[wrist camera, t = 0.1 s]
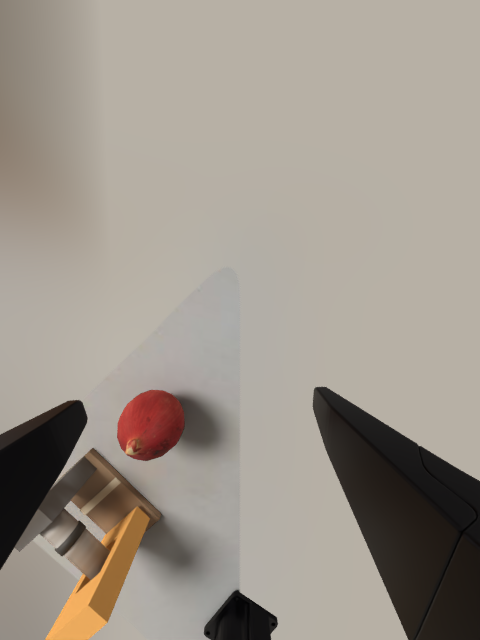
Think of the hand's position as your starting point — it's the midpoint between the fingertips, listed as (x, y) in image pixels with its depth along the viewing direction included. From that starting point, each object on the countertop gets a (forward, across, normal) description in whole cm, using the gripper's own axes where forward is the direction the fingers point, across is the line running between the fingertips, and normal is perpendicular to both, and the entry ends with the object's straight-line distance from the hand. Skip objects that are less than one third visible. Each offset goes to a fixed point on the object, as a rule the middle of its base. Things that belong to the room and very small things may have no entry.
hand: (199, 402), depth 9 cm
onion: (+14, +7, +11) cm, 19 cm away
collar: (+9, +12, +23) cm, 28 cm away
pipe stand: (+11, +14, +21) cm, 27 cm away
